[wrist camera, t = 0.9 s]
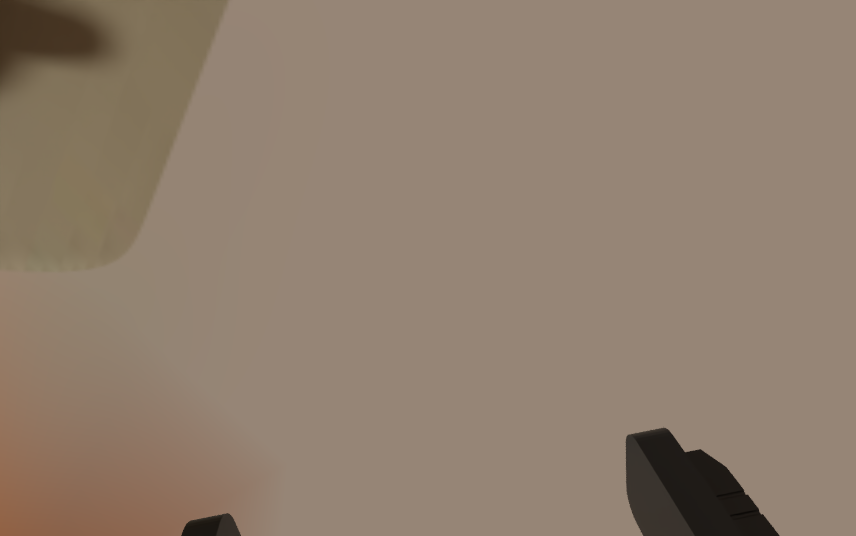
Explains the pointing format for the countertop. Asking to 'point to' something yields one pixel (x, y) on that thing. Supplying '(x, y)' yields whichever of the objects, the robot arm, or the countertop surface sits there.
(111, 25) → the countertop surface
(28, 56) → the countertop surface
